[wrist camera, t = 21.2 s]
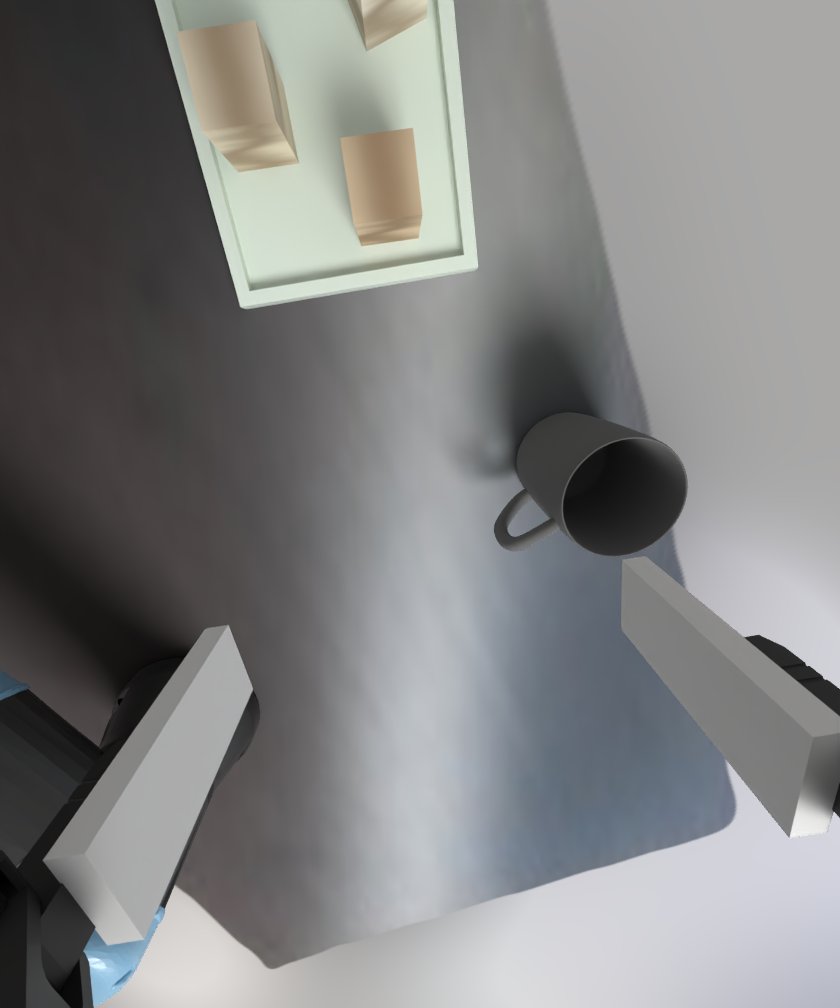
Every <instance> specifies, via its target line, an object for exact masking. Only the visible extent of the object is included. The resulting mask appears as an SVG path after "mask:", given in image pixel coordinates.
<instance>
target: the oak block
mask: <svg viewBox="0 0 840 1008" xmlns="http://www.w3.org/2000/svg"><path fill="white" fill-rule="evenodd" d="M340 142H341V148H342V154H343V161H344V167H345V173H346V179H347V186H348V192H349V198H350V204H351V211H352V217H353V223H354V226H355V229H356V232H357V235H358V237H359V240H360V243H361V246H368V245H375V244H382V243H389V242H396V241H403V240H410V239H418V238H419V233H420V227H421V220H422V205H421V196H420V187H419V178H418V169H417V160H416V150H415V141H414V132H413V128H407V129H400V130H393V131H386V132H379V133H372V134H365V135H358V136H351V137H344V138H340Z"/></svg>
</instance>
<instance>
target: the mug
mask: <svg viewBox="0 0 840 1008" xmlns="http://www.w3.org/2000/svg"><path fill="white" fill-rule="evenodd" d="M516 466H517V473H518V476H519V479H520V481H521V483H522V485H523V487H524V488H525V489H524V490H522V491H521V492H519V493H518V494H517V495H516V496H515V497H514V498H513V499H512V500H511V501H510V502H509V503H508V504H507V505H506V507H505V508H504V509H503V511H502V512H501V513H500V515H499V517H498V518H497V520H496V522H495V525H494V533H495V537H496V539H497V541H498V542H499V544H500V545H501V546H502V547H503V548H505V549H506V550H509V551H521V550H524V549H526V548H528V547H530V546H532V545H534V544H536V543H537V542H539V541H541V540H543V539H544V538H546V537H548V536H549V535H551V534H553V533H554V532H556V531H558V530H559V529H560V530H561V531H562V532H563V533H564V534H565V535H566V536H567V537H568V538H570V539H571V540H572V541H573V542H574V543H575V544H577V545H578V546H579V547H581V548H582V549H584V550H586V551H588V552H590V553H593V554H596V555H600V556H606V557H620V556H626V555H630V554H634V553H637V552H639V551H642V550H644V549H646V548H648V547H650V546H651V545H653V544H654V543H656V542H657V541H658V540H660V539H661V538H662V537H663V536H664V535H665V534H666V533H667V532H668V531H669V530H670V529H671V528H672V527H673V525H674V524H675V523H676V521H677V519H678V518H679V516H680V514H681V512H682V510H683V507H684V505H685V501H686V497H687V488H688V486H687V485H688V484H687V475H686V471H685V468H684V466H683V464H682V462H681V460H680V459H679V457H678V456H677V455H676V453H675V452H674V451H673V450H672V449H671V448H670V447H668V446H667V445H666V444H664V443H662V442H660V441H658V440H657V439H655V438H653V437H650V436H648V435H645V434H643V433H640V432H637V431H635V430H632V429H629V428H627V427H624V426H621V425H618V424H615V423H612V422H609V421H606V420H603V419H600V418H596V417H593V416H589V415H585V414H581V413H574V412H563V413H557V414H554V415H551V416H548V417H546V418H544V419H543V420H541V421H539V422H538V423H537V424H535V425H534V426H533V427H532V428H531V429H530V430H529V431H528V433H527V434H526V435H525V437H524V438H523V440H522V442H521V444H520V447H519V450H518V454H517V460H516ZM531 499H533V500H534V501H535V502H536V503H537V504H538V506H539V507H540V508H541V509H542V510H543V511H544V512H545V514H546V515H547V516H548V517H549V518H550V519H549V520H547V521H546V522H544V523H542V524H541V525H539V526H537V527H536V528H534V529H532V530H531V531H529V532H527V533H525V534H523V535H520V536H517V537H512V536H510V534H509V533H508V531H507V528H508V526H509V524H510V522H511V520H512V519H513V517H514V516H515V515H516V513H517V512H518V511H519V510H520V509H521V507H522V506H523V505H525V504H526V503H527V502H528V501H530V500H531Z"/></svg>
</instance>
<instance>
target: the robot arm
mask: <svg viewBox="0 0 840 1008" xmlns="http://www.w3.org/2000/svg"><path fill="white" fill-rule="evenodd" d="M621 629H622V631H623V632H624V633H625V634H626V636H627V637H628V638H629V639H630V641H631V642H632V643H633V644H634V646H635V647H636V648H637V649H638V651H639V652H640V653H641V654H642V656H643V657H644V658H645V659H646V660H647V662H648V663H649V664H650V665H651V667H652V668H653V669H654V670H655V672H656V673H657V674H658V675H659V677H660V678H661V679H662V680H663V682H664V683H665V684H666V685H667V687H668V688H669V689H670V690H671V692H672V693H673V694H674V695H675V697H676V698H677V699H678V700H679V701H680V703H681V704H682V705H683V706H684V708H685V709H686V710H687V711H688V713H689V714H690V715H691V716H692V718H693V719H694V720H695V721H696V723H697V724H698V725H699V726H700V728H701V729H702V730H703V731H704V733H705V734H706V735H707V736H708V738H709V739H710V740H711V741H712V742H713V744H714V745H715V746H716V747H717V749H718V750H719V751H720V752H721V754H722V755H723V756H724V757H725V759H726V760H727V761H728V762H729V764H730V765H731V766H732V767H733V769H734V770H735V771H736V772H737V774H738V775H739V776H740V777H741V779H742V780H743V781H744V782H745V783H746V785H747V786H748V787H749V788H750V790H751V791H752V792H753V793H754V795H755V796H756V797H757V798H758V800H759V801H760V802H761V803H762V805H763V806H764V807H765V808H766V810H767V811H768V812H769V813H770V814H771V816H772V817H773V818H774V820H775V821H776V822H777V823H778V824H779V826H780V827H781V828H782V829H783V831H784V832H785V833H786V834H787V836H788V837H789V838H793V837H800V836H806V835H812V834H819V833H825V832H828V829H829V826H830V822H831V819H832V815H833V812H835V813H836V814H837V815H838V816H839V817H840V689H839V688H837V687H836V686H835V685H834V684H832V683H831V682H830V681H828V680H824V679H823V676H821V675H820V674H819V673H818V672H816V671H815V670H814V669H813V668H811V667H810V666H806V664H805V662H803V661H802V660H801V659H799V658H798V657H797V656H795V655H794V654H793V653H791V652H790V651H789V650H787V649H786V648H785V647H783V646H781V645H779V644H777V643H774V642H773V641H771V640H768V639H766V638H764V637H762V636H760V635H755V636H749V637H743V636H742V635H740V634H739V633H738V632H737V631H736V630H734V629H733V628H732V627H731V626H729V625H728V624H727V623H726V622H724V621H723V620H722V619H721V618H720V617H719V616H717V615H716V614H715V613H714V612H712V611H711V610H710V609H709V608H708V607H706V606H705V605H704V604H703V603H702V602H700V601H699V600H698V599H697V598H695V597H694V596H693V595H692V594H691V593H689V592H688V591H687V590H686V589H685V588H683V587H682V586H681V585H680V584H679V583H677V582H676V581H675V580H674V579H672V578H671V577H670V576H669V575H668V574H666V573H665V572H664V571H663V570H662V569H660V568H659V567H658V566H657V565H655V564H654V563H653V562H652V561H651V560H649V559H648V558H647V557H646V556H643V557H637V558H631V559H625V560H622V606H621ZM28 688H30V687H29V686H28V685H27V684H25V683H23V684H21V683H19V682H18V681H16V680H15V679H14V678H12V677H11V676H9V675H8V674H6V673H5V672H3V671H2V670H1V669H0V1008H94V1006H97V1005H99V1004H100V1003H102V1002H104V1001H106V1000H107V999H109V998H110V997H112V996H113V995H114V994H116V993H117V992H118V991H119V990H120V989H121V988H122V987H123V986H124V985H125V984H126V983H127V982H128V981H129V979H130V978H131V977H132V975H133V974H134V972H135V970H136V969H137V967H138V965H139V963H140V961H141V959H142V957H143V955H144V953H145V951H146V949H147V946H148V944H149V942H150V940H151V938H152V936H153V934H154V932H155V930H156V928H157V926H158V924H159V923H160V922H161V921H162V919H163V917H164V914H165V910H164V909H165V907H166V904H167V902H168V899H169V897H170V895H171V892H172V890H173V888H174V885H175V883H176V880H177V878H178V876H179V873H180V871H181V869H182V866H183V864H184V861H185V859H186V857H187V854H188V852H189V849H190V847H191V845H192V842H193V840H194V837H195V835H196V833H197V830H198V828H199V825H200V823H201V821H202V818H203V816H204V814H205V811H206V809H207V806H208V804H209V802H210V799H211V797H212V794H213V792H214V790H215V789H216V787H217V786H218V785H219V784H220V782H221V781H222V780H223V778H224V777H225V776H226V774H227V773H228V772H229V771H230V769H231V768H232V767H233V765H234V764H235V763H236V762H237V761H238V760H239V759H240V758H241V757H242V756H243V754H244V753H245V752H246V751H247V749H248V747H249V746H250V744H251V742H252V739H253V737H254V734H255V732H256V729H257V726H258V723H259V718H260V710H259V705H258V701H257V699H256V696H255V695H254V693H253V688H252V685H251V682H250V680H249V677H248V675H247V672H246V669H245V667H244V664H243V662H242V659H241V657H240V654H239V651H238V649H237V646H236V644H235V641H234V639H233V636H232V633H231V631H230V628H229V626H228V625H225V626H219V627H213V628H207V629H205V630H204V631H203V633H202V634H201V636H200V637H199V639H198V640H197V641H196V643H195V644H194V646H193V647H192V649H191V650H190V651H189V653H188V654H187V656H186V657H178V658H169V659H164V660H160V661H157V662H154V663H152V664H150V665H148V666H146V667H144V668H143V669H141V670H140V671H139V672H138V673H137V674H136V675H135V676H134V677H133V678H132V679H131V680H130V682H129V683H128V684H127V685H126V687H125V688H124V689H123V690H122V692H121V693H120V695H119V696H118V698H117V700H116V702H115V705H114V708H113V711H112V716H111V718H110V720H109V722H108V724H107V727H106V730H105V732H104V735H103V738H102V741H101V743H100V746H99V747H98V746H97V745H95V744H94V743H93V742H92V741H90V740H89V739H88V738H87V737H86V736H84V735H83V734H82V733H81V732H79V731H78V730H77V729H76V728H74V727H73V726H72V725H71V724H69V723H68V722H67V721H66V720H65V719H63V718H62V717H61V716H60V715H58V714H57V713H56V712H55V711H53V710H52V709H51V708H50V707H49V706H47V705H46V704H45V703H44V702H43V701H42V700H40V699H39V698H38V697H37V696H36V695H35V694H33V693H32V692H31V691H30V690H29V689H28Z"/></svg>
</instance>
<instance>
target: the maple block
mask: <svg viewBox="0 0 840 1008" xmlns="http://www.w3.org/2000/svg"><path fill="white" fill-rule="evenodd" d="M348 2H349V5H350V8H351V10H352V13H353V16H354V19H355V21H356V24H357V27H358V29H359V32H360V35H361V38H362V40H363V43H364V46H365V49H366V51H369V50H370V49H372V48H374V47H376V46H378V45H379V44H381V43H383V42H385V41H387V40H388V39H390V38H392V37H394V36H395V35H397V34H399V33H401V32H403V31H404V30H406V29H408V28H410V27H412V26H413V25H415V24H417V23H419V22H420V21H422V20H424V19H426V18H427V6H428V0H348Z"/></svg>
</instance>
